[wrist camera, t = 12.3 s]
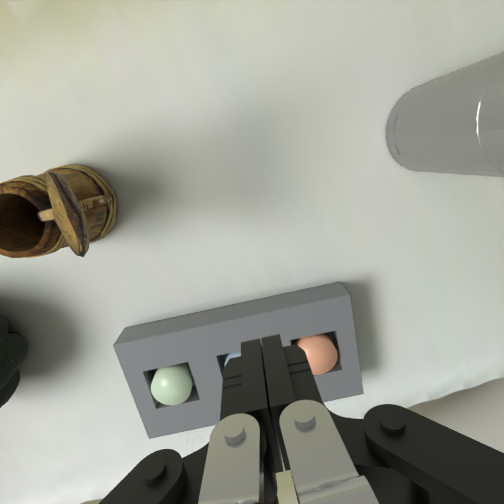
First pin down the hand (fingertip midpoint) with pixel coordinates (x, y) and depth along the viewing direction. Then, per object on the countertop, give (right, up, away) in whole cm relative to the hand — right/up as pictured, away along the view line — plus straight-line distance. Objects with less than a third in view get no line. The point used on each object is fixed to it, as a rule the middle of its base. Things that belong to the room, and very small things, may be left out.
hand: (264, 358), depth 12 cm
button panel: (-2, -9, +31) cm, 32 cm away
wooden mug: (-18, +10, +25) cm, 32 cm away
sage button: (-10, -12, +30) cm, 33 cm away
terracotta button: (+7, -8, +29) cm, 31 cm away
